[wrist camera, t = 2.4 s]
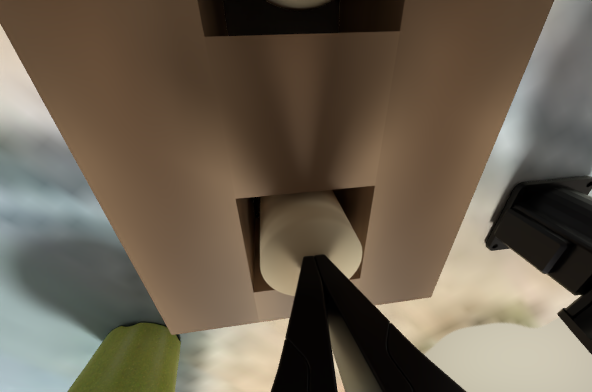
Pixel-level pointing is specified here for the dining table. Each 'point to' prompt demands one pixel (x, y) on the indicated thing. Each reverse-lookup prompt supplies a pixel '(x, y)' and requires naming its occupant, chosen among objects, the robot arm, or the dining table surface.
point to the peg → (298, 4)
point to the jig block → (275, 132)
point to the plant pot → (132, 361)
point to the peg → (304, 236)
